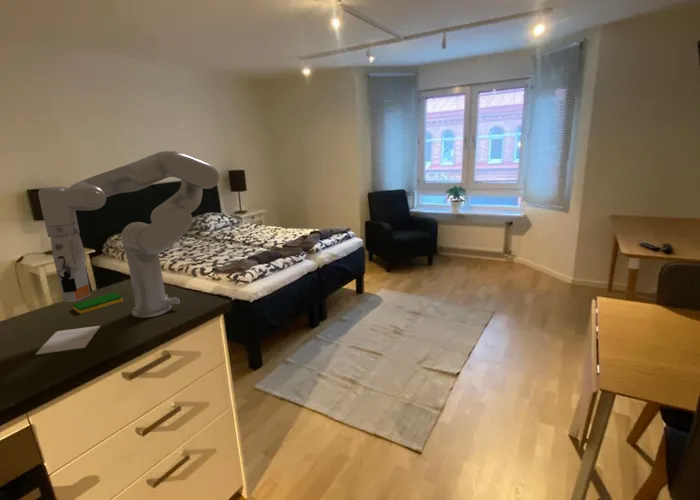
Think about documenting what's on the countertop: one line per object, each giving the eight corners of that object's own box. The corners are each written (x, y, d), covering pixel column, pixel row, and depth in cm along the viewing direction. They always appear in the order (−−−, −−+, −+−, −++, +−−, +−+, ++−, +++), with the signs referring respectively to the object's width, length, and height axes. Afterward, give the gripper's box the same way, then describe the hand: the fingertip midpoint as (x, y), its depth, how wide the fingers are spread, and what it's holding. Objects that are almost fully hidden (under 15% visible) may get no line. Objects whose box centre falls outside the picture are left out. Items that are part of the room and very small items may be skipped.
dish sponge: (73, 310, 136) (72, 304, 135) (115, 298, 147) (114, 292, 146) (81, 315, 132) (79, 308, 131) (123, 302, 142) (122, 296, 142)
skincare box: (74, 302, 112) (66, 264, 109) (62, 301, 113) (54, 263, 110) (92, 295, 118) (84, 258, 115) (80, 294, 119) (72, 257, 116)
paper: (100, 326, 122) (100, 325, 122) (85, 347, 109) (84, 346, 109) (56, 332, 119) (56, 331, 119) (35, 354, 106) (35, 353, 106)
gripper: (66, 235, 103) (79, 296, 108) (88, 223, 119) (98, 276, 124) (33, 237, 101) (48, 299, 105) (60, 225, 117) (72, 279, 122)
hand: (75, 286), depth 115 cm, fingers closed on skincare box, 7 cm apart
